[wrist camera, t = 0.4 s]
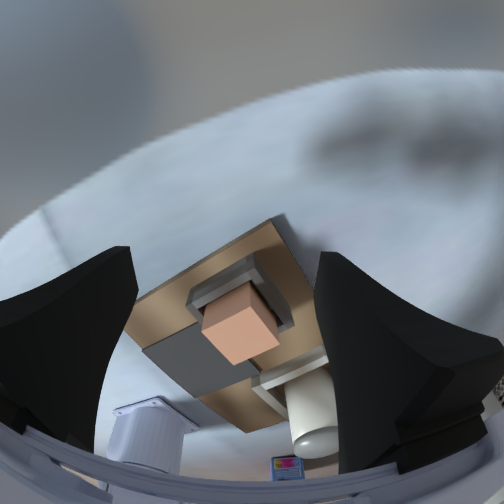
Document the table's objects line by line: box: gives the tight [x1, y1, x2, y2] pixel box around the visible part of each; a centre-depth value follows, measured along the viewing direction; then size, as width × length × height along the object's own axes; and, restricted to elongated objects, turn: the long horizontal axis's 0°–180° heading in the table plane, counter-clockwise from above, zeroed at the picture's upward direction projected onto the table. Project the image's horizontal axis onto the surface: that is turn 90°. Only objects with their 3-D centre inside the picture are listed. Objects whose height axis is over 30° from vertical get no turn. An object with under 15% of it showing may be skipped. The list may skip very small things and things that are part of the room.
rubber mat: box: [142, 321, 261, 398], centre depth 24 cm, size 8×8×1 cm
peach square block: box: [201, 282, 280, 365], centre depth 18 cm, size 4×4×3 cm
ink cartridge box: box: [270, 457, 305, 481], centre depth 30 cm, size 10×6×14 cm, turn 2°
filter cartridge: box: [284, 367, 339, 459], centre depth 22 cm, size 5×5×8 cm
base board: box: [123, 219, 332, 433], centre depth 23 cm, size 16×22×4 cm
